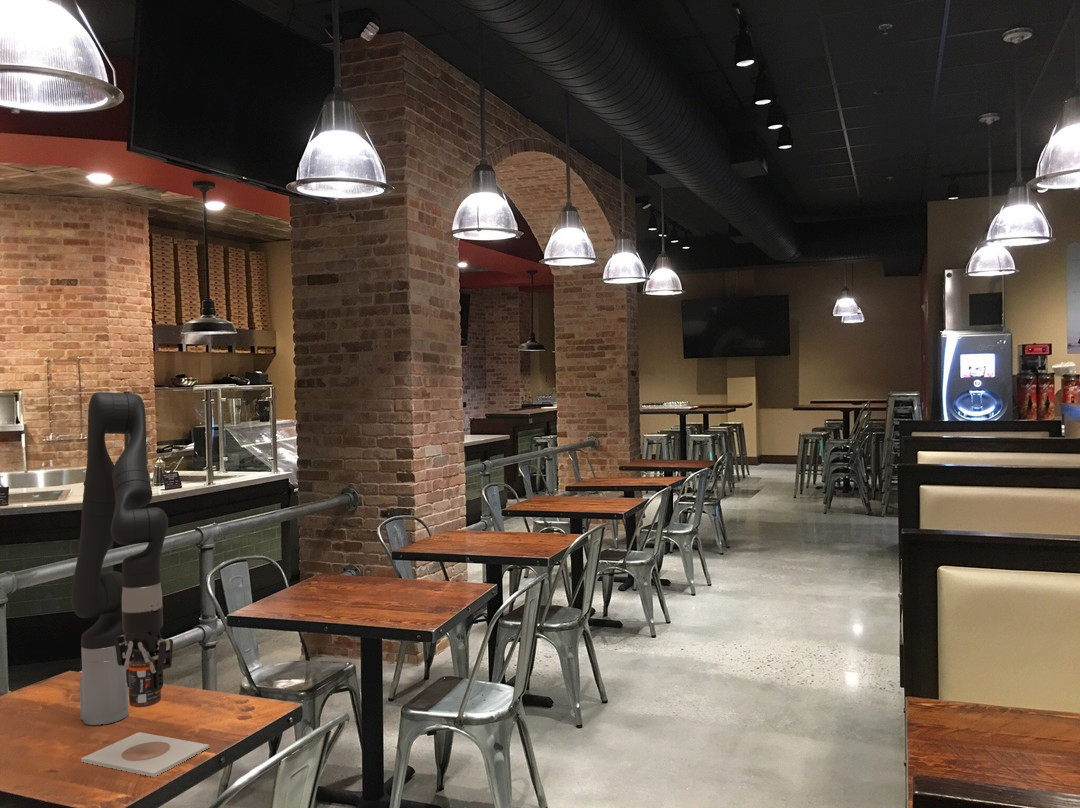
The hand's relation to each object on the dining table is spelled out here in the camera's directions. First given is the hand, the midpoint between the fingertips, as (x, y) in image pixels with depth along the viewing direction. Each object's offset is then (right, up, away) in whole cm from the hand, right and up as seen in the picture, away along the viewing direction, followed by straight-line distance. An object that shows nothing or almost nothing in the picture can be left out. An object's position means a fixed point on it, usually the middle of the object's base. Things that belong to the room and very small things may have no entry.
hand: (145, 688), depth 171 cm
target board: (0, -14, 0) cm, 14 cm away
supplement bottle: (0, -3, 0) cm, 3 cm away
